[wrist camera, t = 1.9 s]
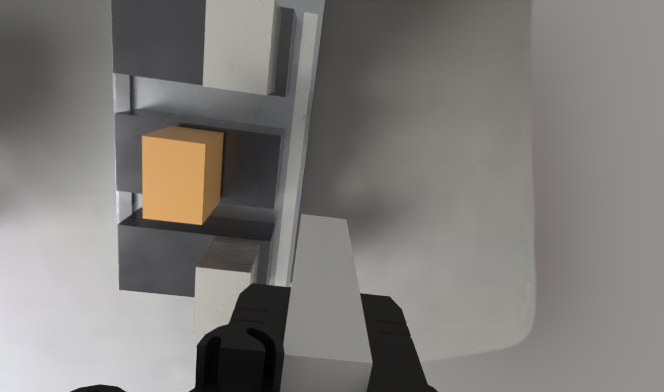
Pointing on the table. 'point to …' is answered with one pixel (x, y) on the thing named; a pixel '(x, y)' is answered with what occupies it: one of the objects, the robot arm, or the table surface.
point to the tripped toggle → (181, 174)
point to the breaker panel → (238, 140)
